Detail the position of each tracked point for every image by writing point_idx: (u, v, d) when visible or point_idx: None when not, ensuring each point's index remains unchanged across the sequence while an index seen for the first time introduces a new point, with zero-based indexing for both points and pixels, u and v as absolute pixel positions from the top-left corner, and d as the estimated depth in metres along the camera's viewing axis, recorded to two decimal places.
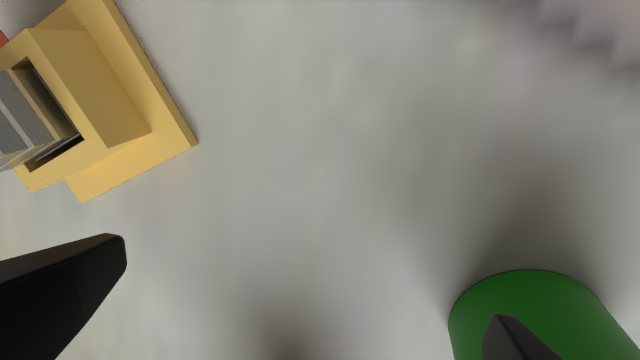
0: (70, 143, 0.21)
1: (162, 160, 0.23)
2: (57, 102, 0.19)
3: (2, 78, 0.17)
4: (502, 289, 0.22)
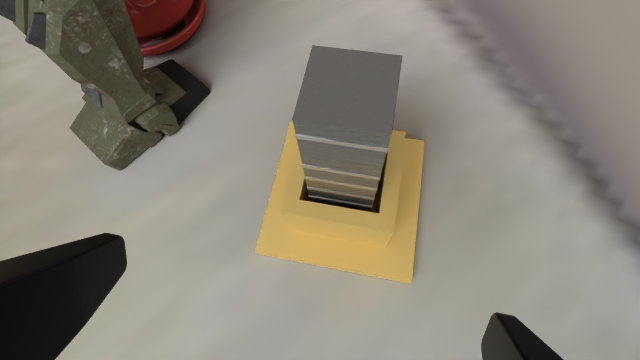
0: (341, 206, 0.22)
1: (374, 273, 0.23)
2: None
3: None
4: None
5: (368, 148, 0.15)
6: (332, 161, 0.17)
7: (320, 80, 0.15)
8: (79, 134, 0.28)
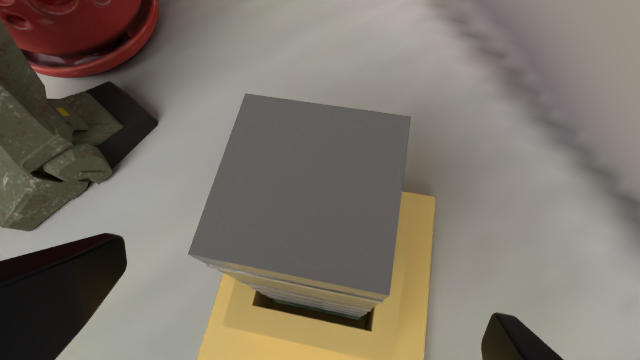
0: None
1: None
2: None
3: None
4: None
5: (345, 294, 0.08)
6: (288, 289, 0.10)
7: (252, 166, 0.08)
8: None
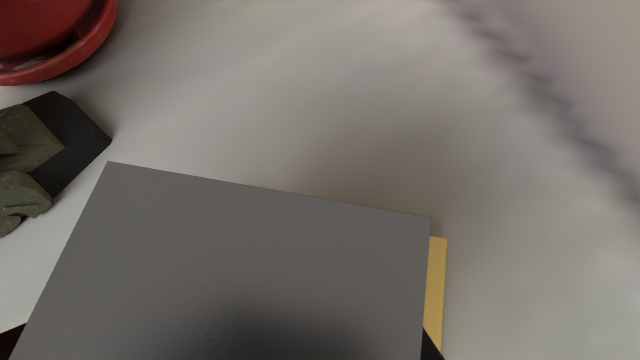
0: None
1: None
2: None
3: None
4: None
5: None
6: None
7: (91, 334, 0.03)
8: None
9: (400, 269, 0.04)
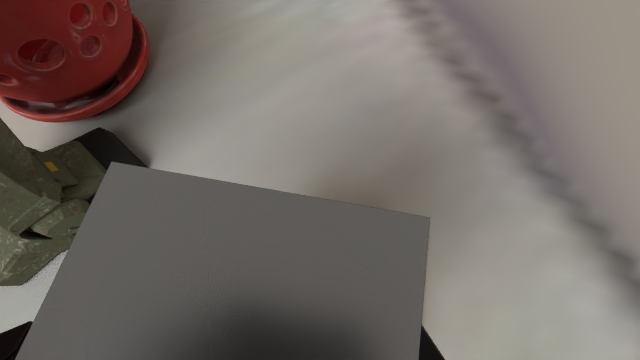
0: None
1: None
2: None
3: None
4: None
5: None
6: None
7: (97, 332, 0.04)
8: None
9: (399, 268, 0.04)
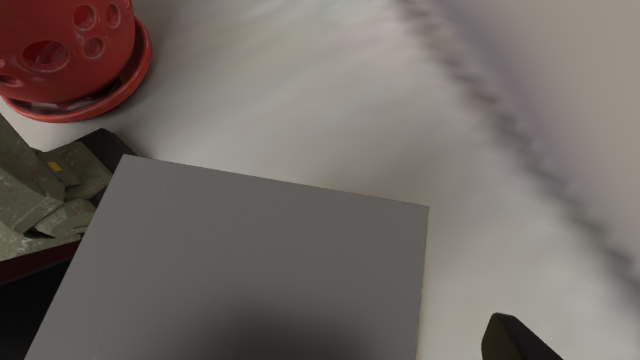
0: None
1: None
2: None
3: None
4: None
5: None
6: None
7: (111, 314, 0.04)
8: None
9: (399, 253, 0.04)
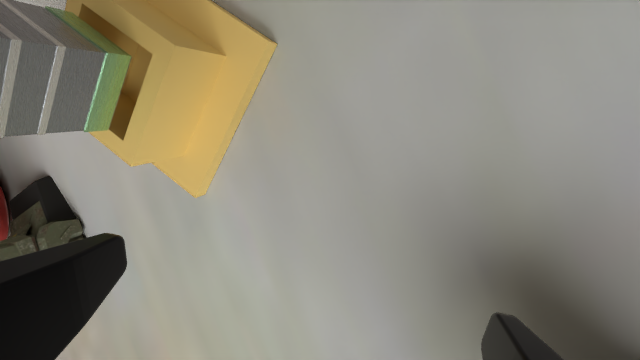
0: (70, 91, 0.15)
1: (248, 82, 0.19)
2: (24, 19, 0.13)
3: None
4: None
5: None
6: None
7: None
8: None
9: None
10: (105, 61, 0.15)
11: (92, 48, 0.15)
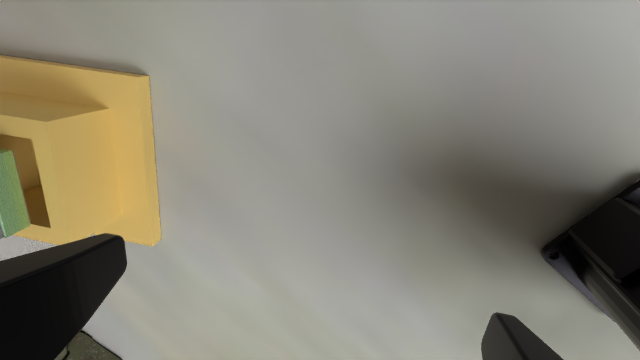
0: None
1: (139, 122, 0.20)
2: None
3: None
4: None
5: None
6: None
7: None
8: None
9: None
10: None
11: None
